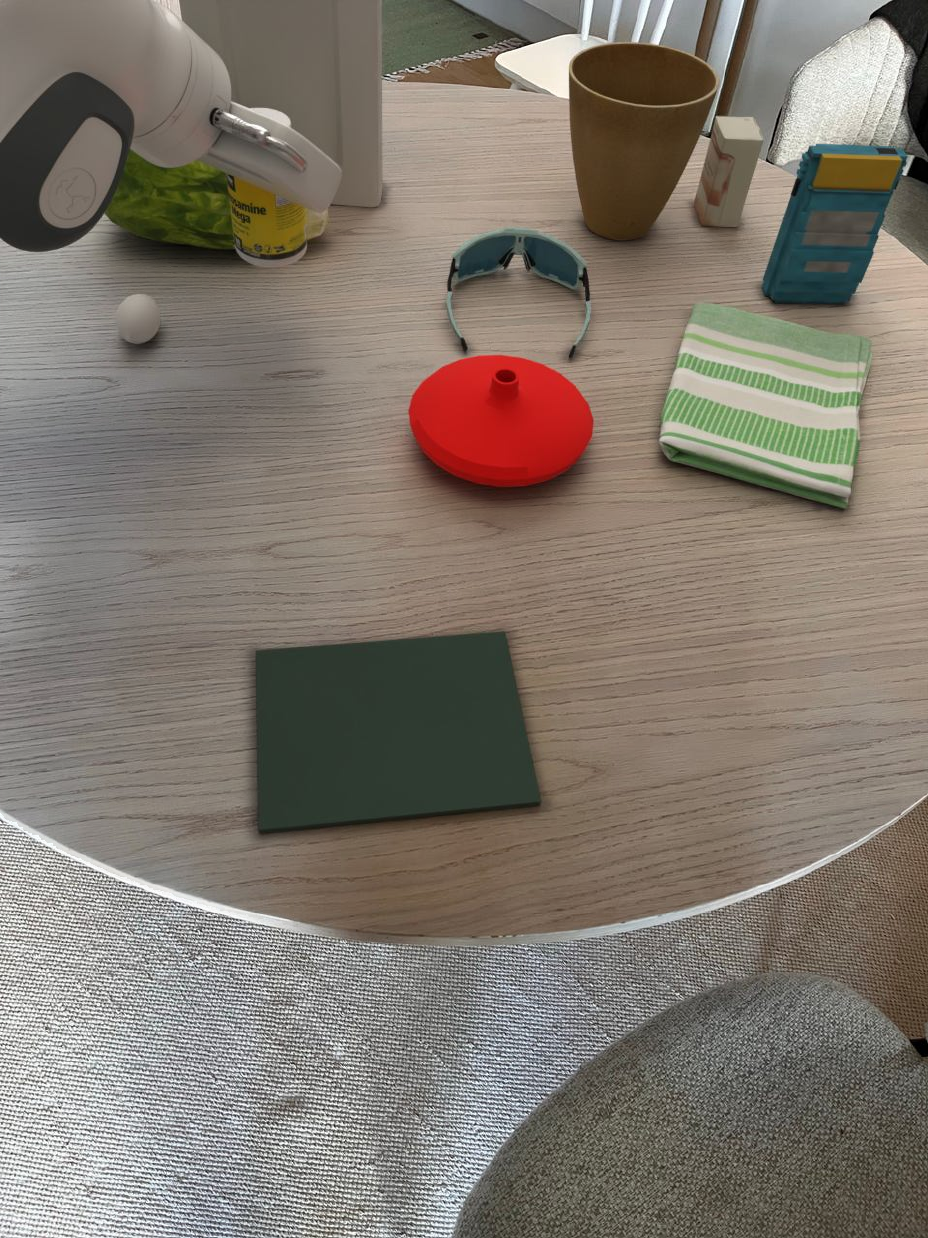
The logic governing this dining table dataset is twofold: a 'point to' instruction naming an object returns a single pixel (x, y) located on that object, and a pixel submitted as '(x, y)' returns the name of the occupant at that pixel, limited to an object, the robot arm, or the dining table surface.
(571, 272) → the sunglasses
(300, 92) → the tall white carton
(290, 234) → the pill bottle
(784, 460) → the dish towel
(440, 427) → the flat cone with hole
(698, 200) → the small cream box
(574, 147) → the plant pot
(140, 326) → the egg
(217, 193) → the lettuce
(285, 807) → the mat
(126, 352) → the dining table surface
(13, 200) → the robot arm
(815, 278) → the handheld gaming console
